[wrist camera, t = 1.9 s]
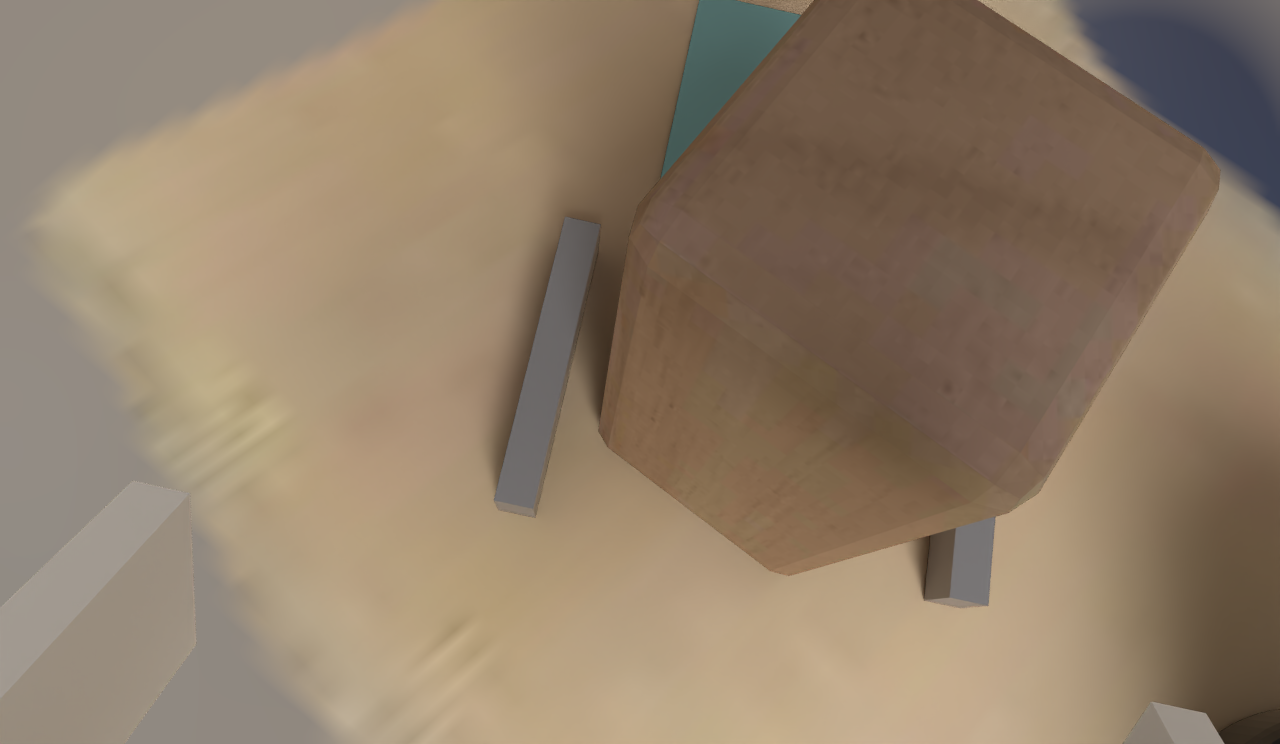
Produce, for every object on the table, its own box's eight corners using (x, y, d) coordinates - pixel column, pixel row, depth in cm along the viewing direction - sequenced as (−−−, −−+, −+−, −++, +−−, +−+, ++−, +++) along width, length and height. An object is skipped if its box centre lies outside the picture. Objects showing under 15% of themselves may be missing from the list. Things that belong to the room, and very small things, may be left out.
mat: (913, 266, 40) (914, 265, 40) (653, 209, 40) (654, 208, 40) (938, 47, 44) (939, 46, 44) (700, -6, 43) (701, -8, 43)
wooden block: (726, 263, 39) (877, -90, 20) (913, 398, 38) (1259, 157, 19) (587, 437, 37) (611, 216, 18) (784, 588, 36) (1040, 527, 16)
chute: (960, 607, 36) (988, 605, 33) (498, 509, 35) (493, 500, 33) (983, 334, 39) (1010, 314, 37) (565, 242, 39) (565, 216, 37)
